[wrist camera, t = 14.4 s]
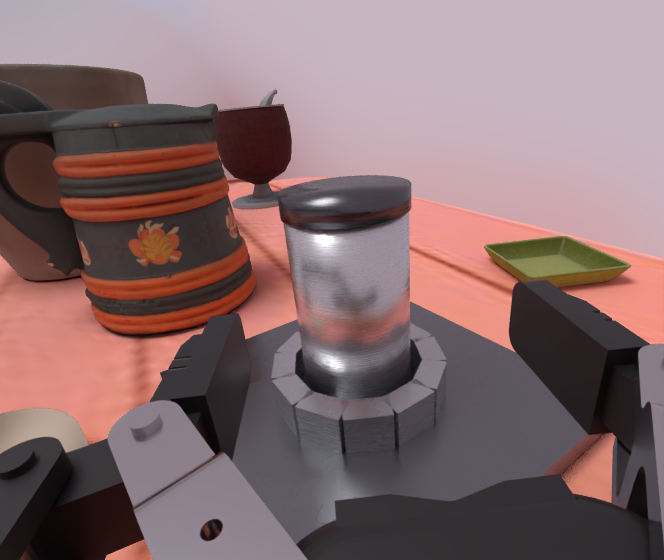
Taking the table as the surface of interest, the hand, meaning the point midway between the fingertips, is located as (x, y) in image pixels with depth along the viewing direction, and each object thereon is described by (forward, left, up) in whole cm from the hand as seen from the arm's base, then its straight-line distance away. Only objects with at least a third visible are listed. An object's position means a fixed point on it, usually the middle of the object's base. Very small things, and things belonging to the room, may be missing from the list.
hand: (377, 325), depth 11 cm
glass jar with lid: (+3, +6, -8) cm, 11 cm away
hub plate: (+3, +6, -9) cm, 12 cm away
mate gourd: (+23, +64, -10) cm, 69 cm away
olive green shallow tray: (+27, +10, -10) cm, 31 cm away
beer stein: (-4, +29, -10) cm, 31 cm away
